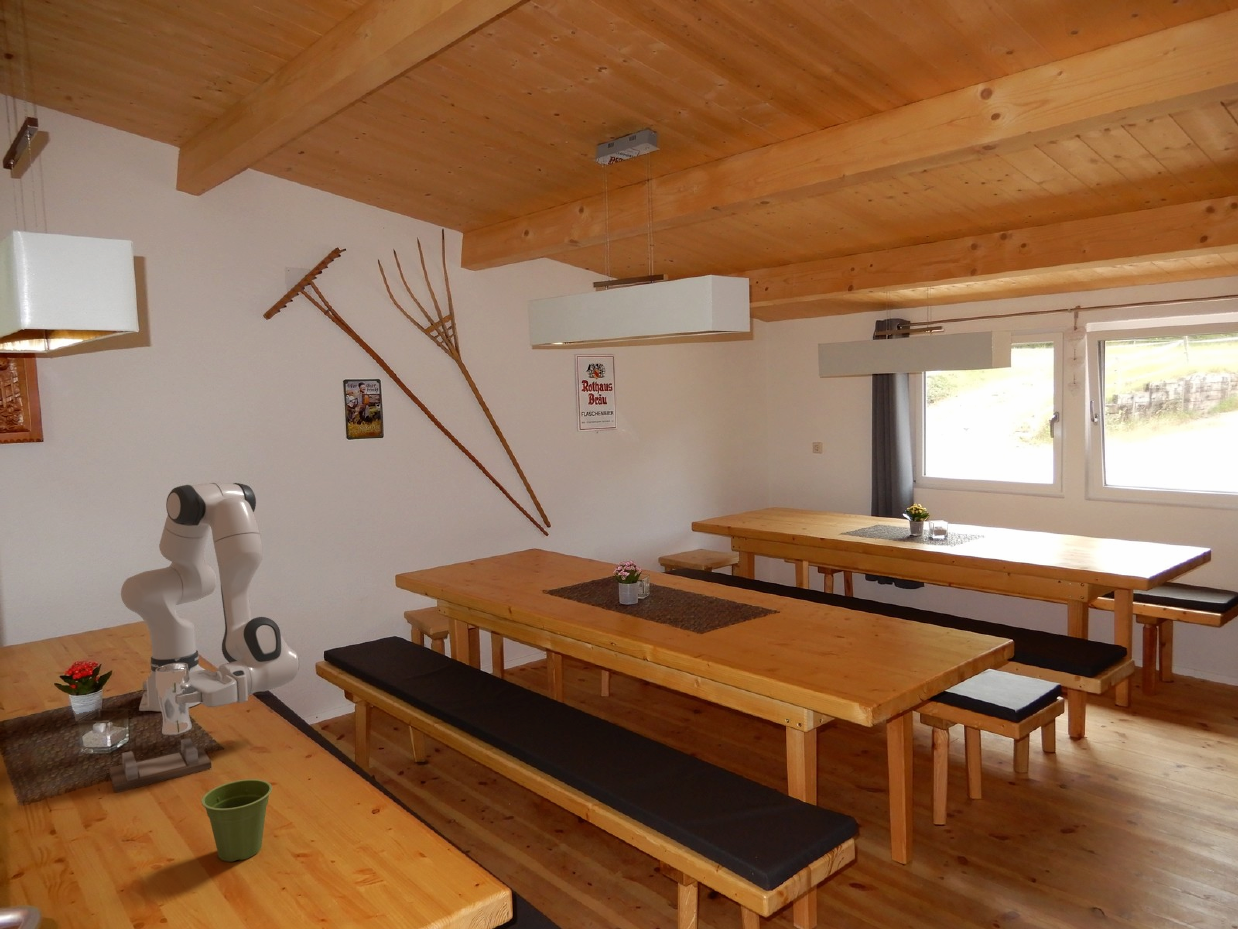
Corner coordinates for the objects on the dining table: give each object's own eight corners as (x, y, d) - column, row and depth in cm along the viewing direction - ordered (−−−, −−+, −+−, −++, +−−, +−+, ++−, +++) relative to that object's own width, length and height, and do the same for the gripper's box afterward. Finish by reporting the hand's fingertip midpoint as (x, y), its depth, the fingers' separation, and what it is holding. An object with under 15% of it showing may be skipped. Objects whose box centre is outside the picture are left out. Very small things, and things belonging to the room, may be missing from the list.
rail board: (109, 774, 188) (108, 754, 187) (201, 752, 199) (200, 733, 199) (115, 792, 178) (113, 772, 178) (211, 768, 189) (210, 749, 189)
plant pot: (191, 870, 147) (187, 808, 146) (226, 836, 158) (223, 779, 158) (256, 870, 146) (252, 809, 145) (286, 836, 158) (283, 779, 157)
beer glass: (179, 737, 187) (174, 672, 185) (152, 736, 188) (147, 671, 187) (200, 725, 193) (195, 662, 192) (174, 724, 195) (169, 662, 194)
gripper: (213, 660, 206) (153, 674, 196) (248, 677, 192) (185, 692, 182) (215, 684, 207) (154, 699, 197) (249, 703, 193) (187, 720, 183)
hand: (169, 696), depth 189 cm, fingers closed on beer glass, 6 cm apart
